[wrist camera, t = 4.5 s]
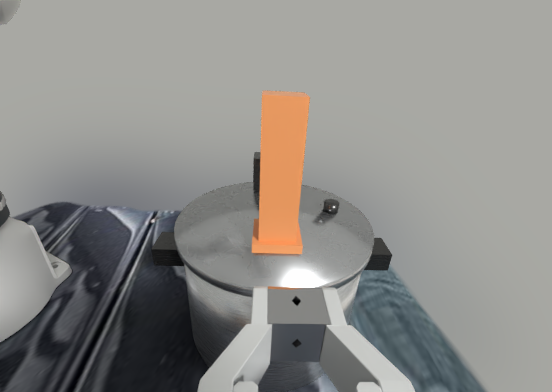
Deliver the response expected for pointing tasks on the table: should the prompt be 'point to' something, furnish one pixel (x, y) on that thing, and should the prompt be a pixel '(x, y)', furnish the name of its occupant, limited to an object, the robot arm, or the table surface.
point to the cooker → (264, 265)
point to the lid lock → (281, 172)
